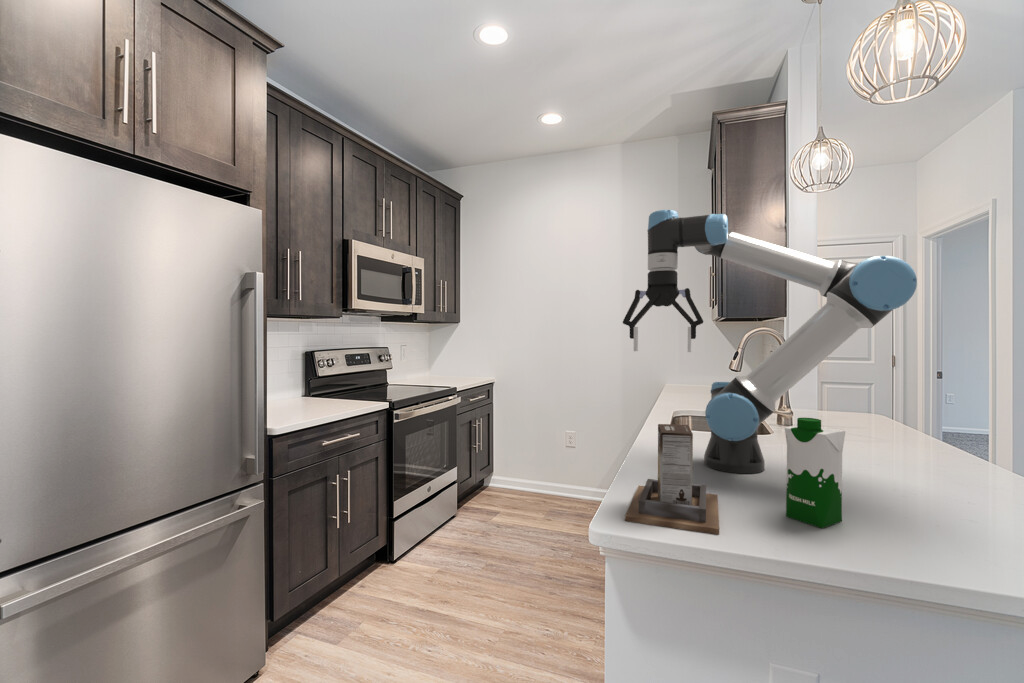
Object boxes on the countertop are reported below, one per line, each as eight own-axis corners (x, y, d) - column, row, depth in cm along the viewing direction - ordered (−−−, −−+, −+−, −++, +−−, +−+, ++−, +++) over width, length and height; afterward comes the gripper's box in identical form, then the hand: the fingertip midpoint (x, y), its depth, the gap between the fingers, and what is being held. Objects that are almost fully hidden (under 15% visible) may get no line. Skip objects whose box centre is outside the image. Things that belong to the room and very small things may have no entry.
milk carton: (778, 515, 97) (779, 416, 97) (804, 507, 102) (805, 413, 101) (824, 531, 90) (826, 424, 89) (850, 522, 94) (851, 419, 94)
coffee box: (656, 495, 106) (657, 423, 106) (687, 498, 105) (688, 424, 104) (659, 511, 97) (660, 431, 97) (693, 513, 96) (694, 433, 95)
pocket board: (717, 499, 107) (717, 483, 107) (719, 534, 88) (719, 515, 88) (638, 489, 113) (638, 474, 113) (625, 520, 95) (625, 503, 95)
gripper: (612, 271, 129) (612, 351, 129) (713, 266, 119) (713, 352, 120) (617, 274, 136) (617, 350, 136) (713, 270, 126) (712, 351, 127)
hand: (662, 351), depth 128 cm, fingers open, 13 cm apart
